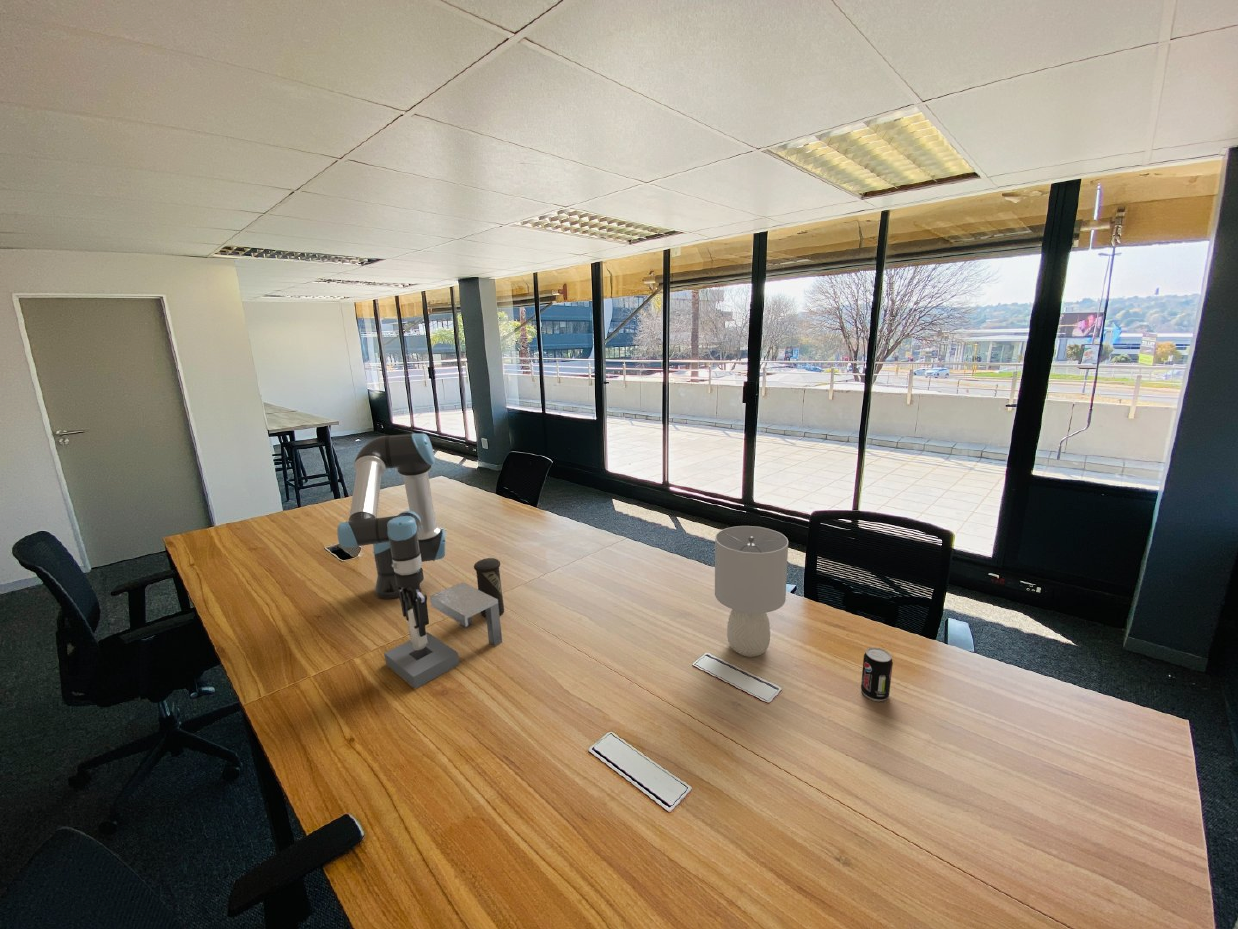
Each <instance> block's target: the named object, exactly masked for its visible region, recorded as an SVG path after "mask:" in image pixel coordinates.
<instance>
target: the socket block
mask: <svg viewBox="0 0 1238 929" xmlns="http://www.w3.org/2000/svg"><path fill="white" fill-rule="evenodd" d="M426 635H427V641H428V643H426V647H425V648H423V649H421V650H414V649H413V643H412V642H411V639H410V640H408V641H406V642H404V643H402V644H400V645H398V646H396V647H394V648H391V649H389V650H388V651H385V652H384V655H383V656H384V660H385V665H386V666H387V667H388V668H390V670H392V671H393V672H394V673H395V674H396V675H398V676H399V677H400V678H401V679H403V680H404V681H405V682H406V683H408V685H409V686H411V687H412V688H414V690H417V689H419V688H420V687H422V686H424V685H425V684H428V683H429V682H431V681H433V680H434V679H436V678H439V676H441V675H443V674H445V673H447V672H448V671H450V670H452V669H454V668H455V667H457V666H459V665H460V659H459V658H460V657H459V652H458V651H456V649H453V647H450V646H449V645H447V644H446V643H444V642H443V641H441V640H440V639H438V638H437V637H436V636H435V635H432V634H431V633H429V632H428V631H426Z"/></svg>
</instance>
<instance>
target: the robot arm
mask: <svg viewBox="0 0 1238 929" xmlns="http://www.w3.org/2000/svg"><path fill="white" fill-rule="evenodd" d="M435 460H436V459H435V454H434V448H433V445H432V442H431V440H430V437H429V436H428V435H427V434H426V433H424V432H423V433H415V432H414V433H410V434H409V433H408V434H407V433H406V434H396V435H395V434H394V435H382V436H379V437H375V438H374V439H372V440H370V441H369V442H367V443H366V444H365V445H364V446H363V447H362V448H361V449H360V451H359V452H358V453H357V455H356V457H355V460H354V466H353V468H354V471H355V473H356V474H355V479H354V485H353V492H352V497H351V503H350V509H349V510H350V511H349V515H348V520H346V521H343V522H340V523H339V524H338V525H337V529H336V530H337V534H336V535H337V540H338V544H339V545H340V547H342V548H358V547H363V546H369V545H372V547H373V548H372V549H373V551H372V552H373V555H374V562H375V567H376V572H377V578H376V583H375V586H374V592H375V596H376V597H377V598H379V599H384V600H391V599H398V598H399V601H400V607H401V611H402V616H403V618H405V619H406V621H407V625H408V630H409V639H410V640H411V642H412V637H411V630H410V624H409V617H408V610H410V609H413V613H414V618H415V622H416V626H414V628H415V631H416V637H417V644H418V647H420V646H422V645H424V644H426V643H428V641H427V635H426V632H427V630H426V628H427V627H426V626H427V625H429V624H430V622H429V621H430V619H429V611H428V603H427V602H428V601H427V600H428V595H427V594H424V595H423V593H422V588H421V586H420V585H421V584H422V582H423V581H424V571H423V569H424V568H423V562H431V561H433V562H435V561H438V560H442V559H443V558H444V557H445V556H446V530H445V529H442V527H441V525H440V524H438V523H437V522H436V515H435V509H434V503H433V501H434V500H433V496H432V491H431V490H432V489H431V483H430V477H429V472H430V471H431V469H432V465H434V464H435V462H436V461H435ZM387 469H397V473H398V474H399V475H400V476H402V477H403V482H404V487H405V492H406V498H407V503H408V504H407V505H408V509H409V510H404V511H401V512H400V513H398V514H397V515H392V516H385V517H378V511H379V510H378V509H379V501H380V500H379V499H380V492H381V481H382V475H384V473H385V471H386V470H387Z"/></svg>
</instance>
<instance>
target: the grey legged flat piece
mask: <svg viewBox="0 0 1238 929" xmlns="http://www.w3.org/2000/svg"><path fill="white" fill-rule="evenodd" d="M429 599H430V604H431V605H430V606H431V607H432V608H434V609H435V610H437V611H439V612H440V613H442V614H444V615H445V616H448V617H449V618H450V619H452V620H454V621H456V622H458V623H459V627H462V628H463V629H467V628H469V627H470V626H472V625H473V620H472V618H473V616H475V615H477V614H480V612H481V611H483V610H485V612H486V618H485V620H486V627H487V630H486V631H487V636H488V644H489V645H491V646H493V647H496V646H498V645H499V644H502V643H503V636H502V626H501V615H499V606H498V599H496V598H494V597H492V596H490V595H488V594H486V593H484V592H482V591H480V590H478V588H475V587H474V586H472V585H470V584H469V583H468V584H467V583H466V582H464V581H461V582H459V583H457V584H455V585H452V586H450V587H448V588H445V589H443V590H440V591H438V592H437V593H436V592H435V593H434V594H431V595H430V596H429Z"/></svg>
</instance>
